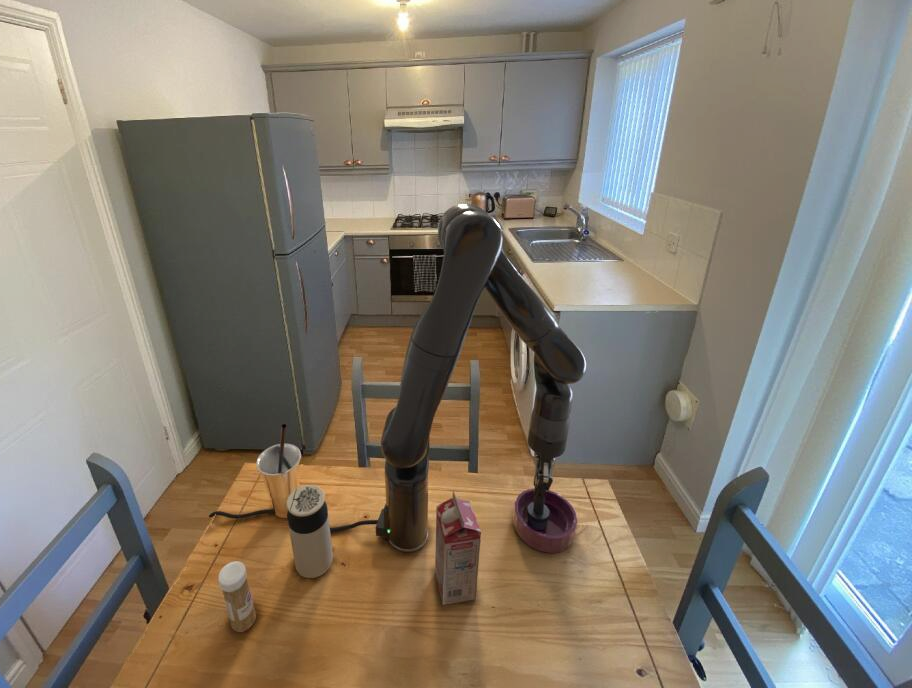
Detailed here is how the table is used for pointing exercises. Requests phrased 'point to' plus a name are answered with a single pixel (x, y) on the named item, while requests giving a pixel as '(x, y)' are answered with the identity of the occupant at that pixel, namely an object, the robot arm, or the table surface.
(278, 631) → the table surface
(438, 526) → the juice carton
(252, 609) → the sprinkles bottle
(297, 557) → the travel mug
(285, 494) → the metal cup with straw
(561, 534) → the bowl
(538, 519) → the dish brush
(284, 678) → the table surface
